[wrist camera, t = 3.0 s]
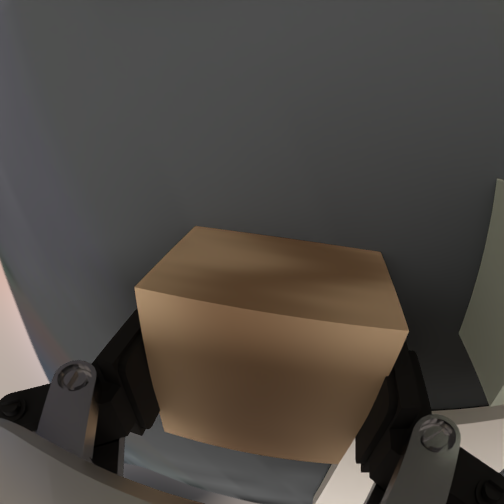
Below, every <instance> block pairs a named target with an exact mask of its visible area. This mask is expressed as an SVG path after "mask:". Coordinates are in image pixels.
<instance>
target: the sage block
mask: <svg viewBox="0 0 504 504" xmlns="http://www.w3.org/2000/svg"><path fill="white" fill-rule="evenodd" d="M458 334H459V336H460V338H461V340H462V342H463V344H464V346H465V348H466V351H467V353H468V355H469V357H470V359H471V362H472V364H473V366H474V369H475V371H476V373H477V376H478V378H479V381H480V383H481V386H482V388H483V391H484V393H485V396H486V398H487V401H488V404H489V406H490V407H493V406H498V405H503V404H504V180H502V179H497V181H496V189H495V196H494V203H493V209H492V214H491V220H490V225H489V230H488V235H487V240H486V244H485V249H484V253H483V257H482V261H481V265H480V268H479V272H478V276H477V279H476V283H475V286H474V289H473V293H472V296H471V299H470V302H469V305H468V308H467V311H466V314H465V317H464V320H463V323H462V325H461V328H460V331H459V333H458Z"/></svg>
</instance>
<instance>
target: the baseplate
mask: <svg viewBox="0 0 504 504" xmlns="http://www.w3.org/2000/svg"><path fill="white" fill-rule="evenodd" d="M431 412H432V414H437V415H443V416H445V417H447V418H449V419H451V420H452V421H453V422H454V423H455V424H456V425H457V427H458V428H459V431H460V434H461V442H460V447H462V448H463V449H464V450H466V451H467V452H469V453H470V454H472V455H473V456H475V457H476V458H478V459H479V460H480V461H482V462H483V463H485V464H486V465H488V466H489V467H491V468H492V469H494V470H495V471H497V472H498V473H499V472H501V471H502V470H503V469H504V404H503V405H498V406H493V407H490V406H485V407H476V408H466V409H455V410H440V411H431ZM373 483H374V481H373V480H372V479H370V478H369V473H361V464H356V461H355V439H354V440H353V442H352V444H351V445H350V447H349V448H348V450H347V451H346V453H345V455H344V456H343V458H342V459H341V461H340V462H339V464H331V466H330V468H329V470H328V472H327V474H326V476H325V478H324V480H323V481H322V483H321V485H320V487H319V489H318V490H317V492H316V494H315V496H314V498H313V504H364V502H365V500H366V498H367V496H368V494H369V492H370V489H371V487H372V485H373Z"/></svg>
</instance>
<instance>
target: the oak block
mask: <svg viewBox="0 0 504 504" xmlns="http://www.w3.org/2000/svg"><path fill="white" fill-rule="evenodd" d="M134 288H135V295H136V301H137V308H138V314H139V320H140V326H141V331H142V337H143V342H144V347H145V352H146V357H147V362H148V367H149V371H150V376H151V380H152V384H153V388H154V391H155V395H156V398H157V401H158V404H159V407H160V412H159V413H160V416H161V420H162V424H163V427H164V431H165V432H168V433H171V434H175V435H178V436H181V437H185V438H188V439H192V440H195V441H199V442H203V443H207V444H211V445H215V446H219V447H224V448H228V449H233V450H237V451H242V452H247V453H252V454H258V455H264V456H270V457H276V458H283V459H290V460H298V461H307V462H317V463H329V464H339V462H340V461H341V459H342V458H343V456H344V455H345V453H346V451H347V450H348V448H349V447H350V445H351V444H352V442H353V440H354V439H355V437H356V435H357V434H358V432H359V430H360V429H361V427H362V425H363V423H364V422H365V420H366V418H367V416H368V415H369V412H370V410H371V408H372V406H373V404H374V402H375V400H376V397H377V395H378V393H379V391H380V388H381V386H382V384H383V381H384V379H385V377H386V376H389V374H390V372H391V370H392V368H393V366H394V364H395V362H396V360H397V357H398V355H399V353H400V351H401V349H402V346H403V344H404V342H405V339H406V337H407V335H408V332H409V329H408V326H407V323H406V320H405V317H404V314H403V311H402V308H401V305H400V302H399V299H398V297H397V294H396V291H395V288H394V286H393V283H392V280H391V277H390V275H389V272H388V269H387V267H386V264H385V262H384V259H383V257H382V254H381V252H377V251H370V250H364V249H357V248H350V247H344V246H337V245H330V244H323V243H316V242H309V241H302V240H295V239H288V238H281V237H274V236H267V235H259V234H252V233H245V232H237V231H230V230H222V229H214V228H207V227H199V226H195V227H194V228H193V229H192V230H191V231H190V232H189V233H188V234H187V235H186V236H185V237H184V238H183V239H181V240H180V241H179V242H178V243H177V244H176V245H175V246H174V247H173V248H172V249H171V250H170V251H169V252H168V253H167V254H166V255H165V256H164V257H163V258H162V259H161V260H160V261H159V262H158V263H157V264H156V265H155V266H154V267H153V268H152V269H151V270H150V272H149V273H148V274H147V275H146V276H145V277H144V278H143V279H142V280H141V281H140V282H139V283H138V284H137V285H136V286H135V287H134Z"/></svg>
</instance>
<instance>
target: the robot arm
mask: <svg viewBox="0 0 504 504" xmlns="http://www.w3.org/2000/svg"><path fill="white" fill-rule="evenodd" d="M159 412H160V407H159V404H158V401H157V398H156V395H155V391H154V388H153V384H152V380H151V376H150V371H149V367H148V362H147V357H146V352H145V347H144V342H143V337H142V331H141V326H140V320H139V314H138V308H137V309H136V311H135V312H134V313H133V314H132V315H131V316H130V318H129V319H128V320H127V321H126V322H125V324H124V325H123V326H122V327H121V328H120V330H119V331H118V332H117V333H116V334H115V336H114V337H113V338H112V339H111V341H110V342H109V343H108V344H107V345H106V347H105V348H104V349H103V350H102V352H101V353H100V354H99V355H98V357H97V358H96V359H95V360H94V362H93V363H92V364H90V363H88V362H86V361H81V360H76V361H71V362H68V363H65V364H64V365H62V366H61V367H60V368H59V369H58V370H57V371H56V372H55V374H54V376H53V379H52V382H51V383H50V384H46V385H42V386H38V387H34V388H30V389H27V390H23V391H18V392H14V393H10V394H8V395H6V396H4V397H3V398H2V399H1V400H0V504H204V503H199V502H196V501H192V500H188V499H185V498H182V497H178V496H175V495H172V494H168V493H165V492H162V491H159V490H156V489H153V488H151V487H148V486H145V485H142V484H139V483H137V482H134V481H132V480H129V479H126V478H124V477H123V469H124V447H125V437H126V436H128V434H129V433H130V432H132V433H135V434H138V435H141V436H142V435H143V433H144V431H145V429H150V428H151V427H152V425H153V423H154V421H155V419H156V417H157V415H158V413H159ZM460 442H461V434H460V431H459V428H458V427H457V425H456V424H455V423H454V422H453V421H452V420H451V419H449V418H447V417H445V416H443V415H437V414H432V412H431V407H430V403H429V399H428V395H427V391H426V387H425V383H424V379H423V376H422V372H421V368H420V365H419V361H418V358H417V355H416V353H415V352H414V351H408V348H407V344H406V341H405V342H404V344H403V346H402V349H401V351H400V353H399V355H398V357H397V360H396V362H395V364H394V366H393V368H392V370H391V372H390V374H389V376H386V377H385V379H384V381H383V384H382V386H381V388H380V391H379V393H378V395H377V397H376V400H375V402H374V404H373V406H372V408H371V410H370V412H369V415H368V416H367V418H366V420H365V422H364V423H363V425H362V427H361V429H360V430H359V432H358V434H357V435H356V437H355V461H356V464H361V473H369V478H370V479H372V480H373V481H374V483H373V485H372V487H371V489H370V492H369V494H368V496H367V498H366V500H365V502H364V504H504V477H503V476H502V475H501V474H500V473H498V472H497V471H495V470H494V469H492V468H491V467H489V466H488V465H486V464H485V463H483V462H482V461H480V460H479V459H478V458H476V457H475V456H473V455H472V454H470V453H469V452H467V451H466V450H464V449H463V448H462V447H460Z"/></svg>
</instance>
